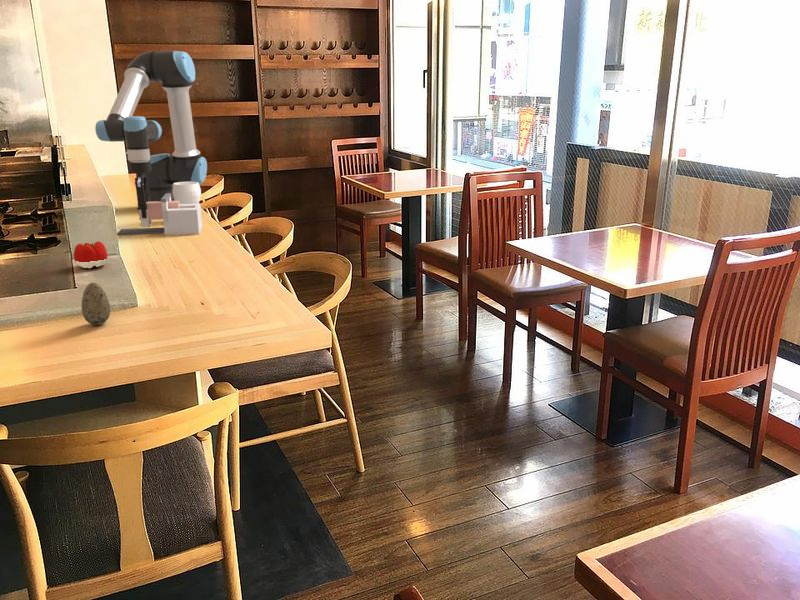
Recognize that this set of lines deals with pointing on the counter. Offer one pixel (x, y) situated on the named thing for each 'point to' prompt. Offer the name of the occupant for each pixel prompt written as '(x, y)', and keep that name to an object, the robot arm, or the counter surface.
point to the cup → (187, 192)
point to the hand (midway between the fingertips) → (146, 225)
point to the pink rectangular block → (158, 209)
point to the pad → (141, 231)
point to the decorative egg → (95, 305)
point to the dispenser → (181, 218)
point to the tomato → (90, 252)
